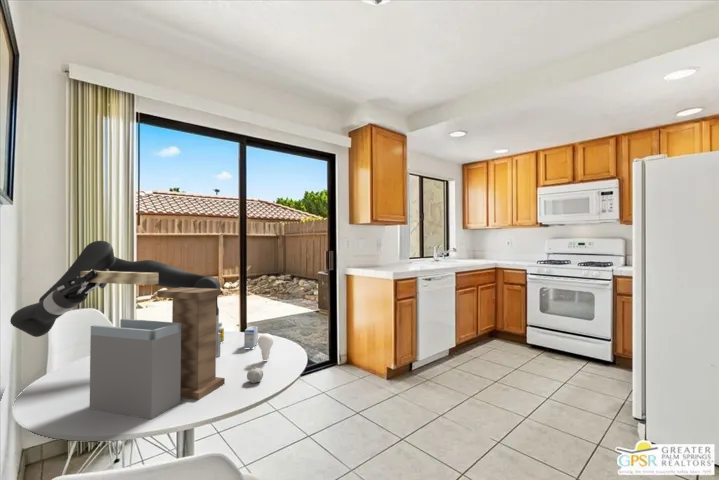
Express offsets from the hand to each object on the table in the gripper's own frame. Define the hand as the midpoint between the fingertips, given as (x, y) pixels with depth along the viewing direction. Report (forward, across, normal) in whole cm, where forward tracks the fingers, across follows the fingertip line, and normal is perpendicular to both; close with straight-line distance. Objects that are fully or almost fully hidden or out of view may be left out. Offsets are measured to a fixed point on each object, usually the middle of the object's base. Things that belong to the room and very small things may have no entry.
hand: (102, 272), depth 103 cm
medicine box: (-8, +59, +40) cm, 72 cm away
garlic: (+13, +25, +52) cm, 59 cm away
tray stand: (-7, 0, +40) cm, 41 cm away
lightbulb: (+7, +44, +48) cm, 66 cm away
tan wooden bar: (+4, 0, +6) cm, 7 cm away
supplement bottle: (-25, +61, +30) cm, 73 cm away
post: (-2, +14, +43) cm, 45 cm away
